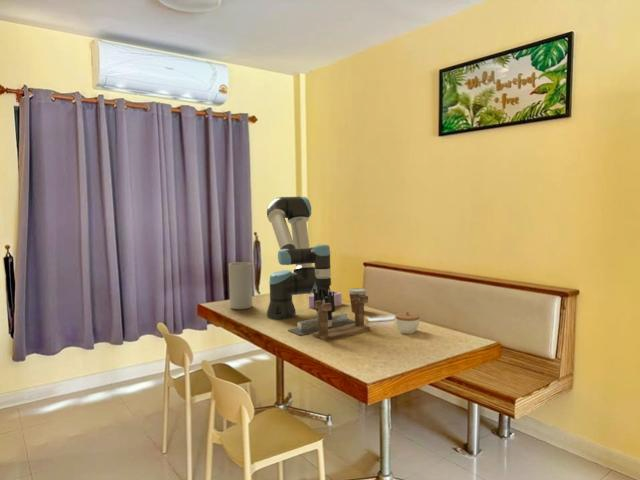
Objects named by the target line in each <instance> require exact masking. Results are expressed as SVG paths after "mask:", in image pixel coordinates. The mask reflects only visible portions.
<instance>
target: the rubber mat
mask: <svg viewBox="0 0 640 480" xmlns="http://www.w3.org/2000/svg"><path fill="white" fill-rule="evenodd" d="M351 323H355V320H353V319H351V318H347V321H345V322H341V323H337V324H333V325H332V326H331V327H328V329H331V328H335V327H339V326H343V325H347V324H351ZM287 331H288V332H290V333H292V334H294V335H297V336H305V335H310V334H313V333H314V332H318V328H316V329H312V330H308V331H303V332H300V331H298V327H294V328H291V329H290V328H289V329H287Z"/></svg>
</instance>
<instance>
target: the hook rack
mask: <svg viewBox="0 0 640 480" xmlns="http://www.w3.org/2000/svg"><path fill="white" fill-rule="evenodd" d="M351 301H355V313H354V321H355V323H351V324H347V325H343V326H339V327H335V328H331V329H328V311H331V310H332V307H331V303H325V304H323V305H322V301H320V300H318V301H314V308H316V309H318V317H317V318H318V332H314V333H312V337H314V338H316V339H319V340H321V341H324V342H330V341H334V340H337V339H342V338H346V337H350V336H352V335H356V334H360V333H364V332H369V331H371V327H370V326H368V325H365V304H368V303H369V295H365V296H360V298H359V294H356V293H355V294H351ZM351 301H350V302H351ZM314 308H313V309H314ZM316 309H315V310H316Z"/></svg>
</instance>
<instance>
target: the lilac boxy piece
mask: <svg viewBox="0 0 640 480" xmlns="http://www.w3.org/2000/svg"><path fill="white" fill-rule="evenodd" d="M327 297H328V296H327ZM342 297H343V296H342V292H338V291H336V290H335V291H334V305H335V307H338V306H342V303H343V302H342V301H343V299H342ZM323 304H325V301H324V299H323V303H322V305H323ZM308 308H309V309H314V293H312V294H311V295H309V296H308Z"/></svg>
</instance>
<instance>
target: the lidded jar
mask: <svg viewBox="0 0 640 480" xmlns="http://www.w3.org/2000/svg"><path fill="white" fill-rule="evenodd" d="M419 324H420V315H419V314H418V313H414V312H409V311H406V312H398V313H396V314H395V325H396V327H397V329H398V330H399V331H400V333H402V334H403V335H407V334H408V335H411V334H414V333H415V332H416V331H417V329H418V327H419Z"/></svg>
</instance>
